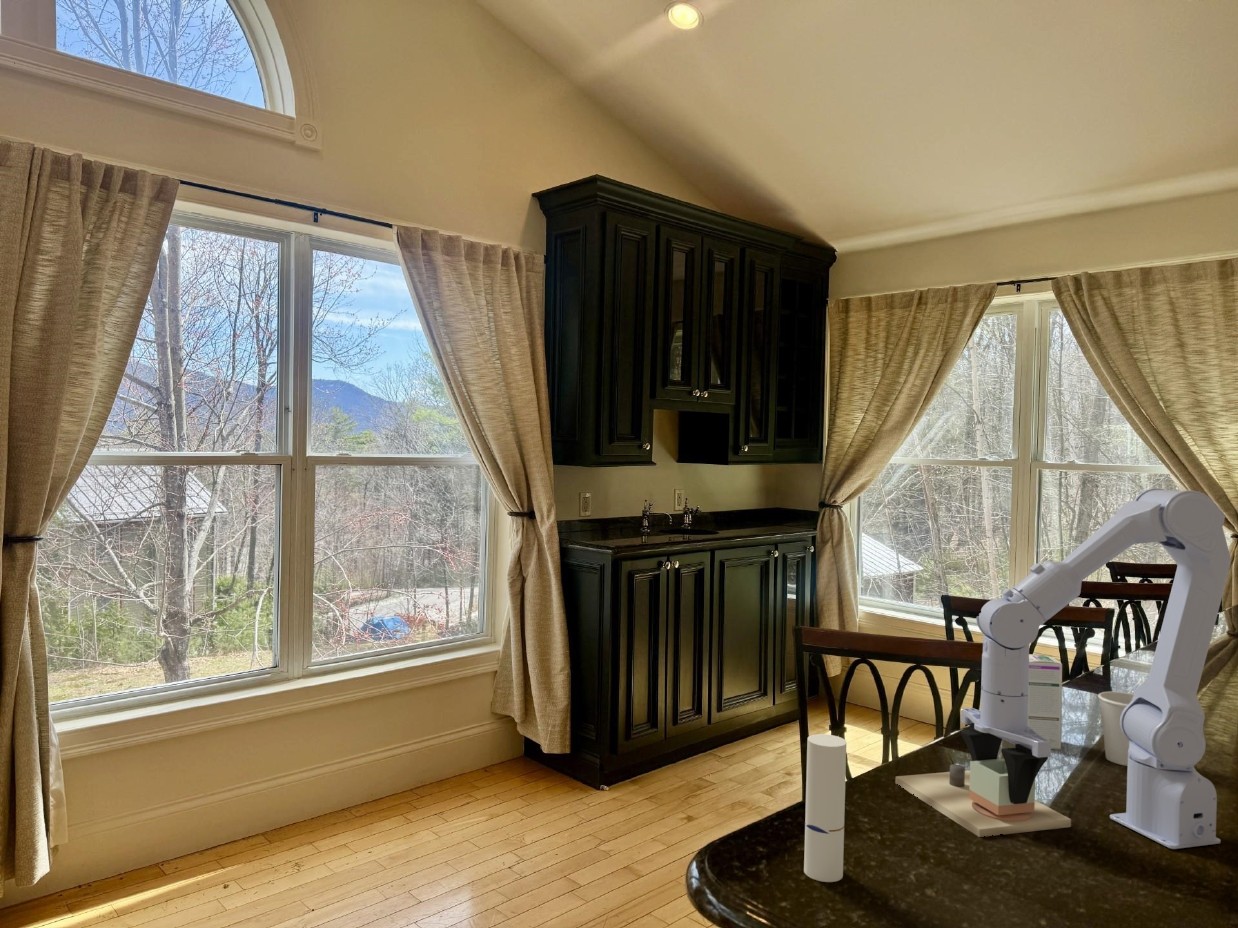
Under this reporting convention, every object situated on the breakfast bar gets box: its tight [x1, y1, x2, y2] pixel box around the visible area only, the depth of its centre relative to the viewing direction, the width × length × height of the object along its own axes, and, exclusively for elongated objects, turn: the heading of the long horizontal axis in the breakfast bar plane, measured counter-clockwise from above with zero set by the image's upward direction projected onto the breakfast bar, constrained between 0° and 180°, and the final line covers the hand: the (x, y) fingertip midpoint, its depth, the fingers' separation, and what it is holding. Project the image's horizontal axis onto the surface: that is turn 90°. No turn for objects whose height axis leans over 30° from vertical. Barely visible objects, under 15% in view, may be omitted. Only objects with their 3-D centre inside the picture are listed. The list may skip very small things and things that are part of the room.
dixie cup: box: [1097, 691, 1134, 767], centre depth 136 cm, size 8×8×10 cm
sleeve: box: [969, 758, 1036, 815], centre depth 112 cm, size 6×6×5 cm
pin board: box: [894, 763, 1072, 838], centre depth 117 cm, size 18×14×4 cm
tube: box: [803, 733, 847, 883], centre depth 96 cm, size 4×4×15 cm
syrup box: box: [1028, 653, 1063, 750], centre depth 144 cm, size 6×6×14 cm
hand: (1001, 793), depth 112 cm, fingers open, 6 cm apart
